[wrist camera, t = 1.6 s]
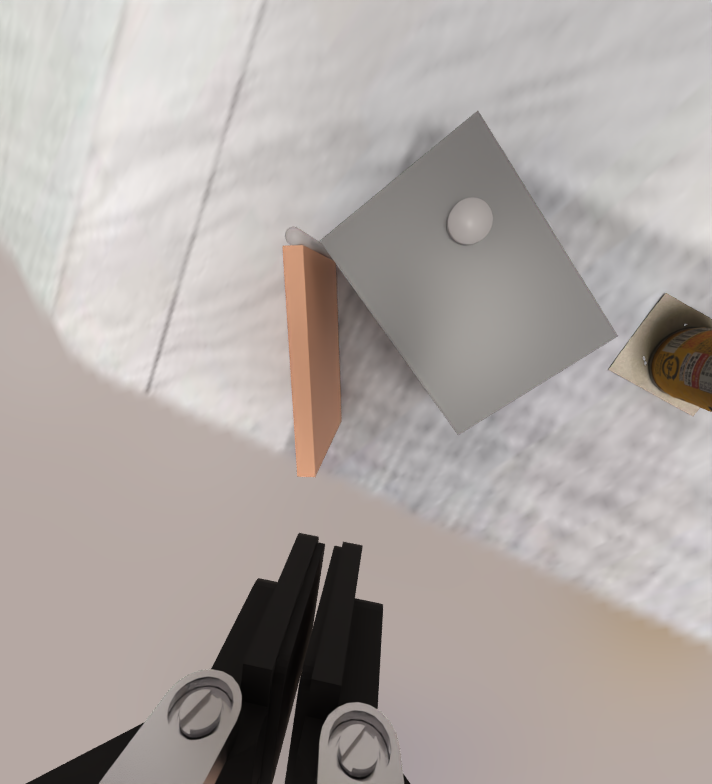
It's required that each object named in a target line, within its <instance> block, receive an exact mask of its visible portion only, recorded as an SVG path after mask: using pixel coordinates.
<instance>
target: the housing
mask: <svg viewBox="0 0 712 784" xmlns="http://www.w3.org/2000/svg"><path fill="white" fill-rule="evenodd" d="M320 242H321V243H322V245H323V246H324V248H325V249H326V250H327V252H328V253H329V255H330V256H331V257H332V259H333V260H334V262H335V263H336V265H337V266H338V267H339V269H340V270H341V272H342V273H343V274H344V276H345V277H346V279H347V280H348V281H349V283H350V284H351V286H352V287H353V288H354V290H355V291H356V293H357V294H358V295H359V297H360V298H361V300H362V301H363V302H364V304H365V305H366V307H367V308H368V309H369V311H370V312H371V314H372V315H373V316H374V318H375V319H376V321H377V322H378V323H379V325H380V326H381V328H382V329H383V330H384V332H385V333H386V335H387V336H388V338H389V339H390V340H391V342H392V343H393V345H394V346H395V347H396V349H397V350H398V352H399V353H400V354H401V356H402V357H403V359H404V360H405V361H406V363H407V364H408V366H409V367H410V368H411V370H412V371H413V373H414V374H415V375H416V377H417V378H418V380H419V381H420V382H421V384H422V385H423V387H424V388H425V389H426V391H427V392H428V394H429V395H430V396H431V398H432V399H433V401H434V402H435V403H436V405H437V406H438V408H439V409H440V411H441V412H442V413H443V415H444V416H445V418H446V419H447V420H448V422H449V423H450V425H451V426H452V427H453V429H454V430H455V432H456V433H457V434H458V435H459V434H461V433H463V432H464V431H466V430H467V429H469V428H471V427H472V426H474V425H475V424H477V423H479V422H480V421H482V420H484V419H485V418H487V417H488V416H490V415H492V414H493V413H495V412H496V411H498V410H500V409H501V408H503V407H504V406H506V405H508V404H509V403H511V402H513V401H514V400H516V399H517V398H519V397H521V396H522V395H524V394H525V393H527V392H529V391H530V390H532V389H534V388H535V387H537V386H538V385H540V384H542V383H543V382H545V381H546V380H548V379H550V378H551V377H553V376H554V375H556V374H558V373H559V372H561V371H563V370H564V369H566V368H567V367H569V366H571V365H572V364H574V363H575V362H577V361H579V360H580V359H582V358H584V357H585V356H587V355H588V354H590V353H592V352H593V351H595V350H596V349H598V348H600V347H601V346H603V345H604V344H606V343H608V342H609V341H611V340H613V339H614V338H616V337H617V336H618V335H617V334H616V332H615V331H614V329H613V327H612V326H611V324H610V323H609V321H608V319H607V318H606V316H605V314H604V313H603V311H602V310H601V308H600V306H599V305H598V303H597V302H596V300H595V298H594V297H593V295H592V294H591V292H590V290H589V289H588V287H587V285H586V284H585V282H584V281H583V279H582V277H581V276H580V274H579V273H578V271H577V269H576V268H575V266H574V265H573V263H572V261H571V260H570V258H569V256H568V255H567V253H566V252H565V250H564V248H563V247H562V245H561V244H560V242H559V240H558V239H557V237H556V236H555V234H554V232H553V231H552V229H551V227H550V226H549V224H548V223H547V221H546V219H545V218H544V216H543V215H542V213H541V211H540V210H539V208H538V207H537V205H536V203H535V202H534V200H533V198H532V197H531V195H530V194H529V192H528V190H527V189H526V187H525V186H524V184H523V182H522V181H521V179H520V178H519V176H518V174H517V173H516V171H515V169H514V168H513V166H512V165H511V163H510V161H509V160H508V158H507V157H506V155H505V153H504V152H503V150H502V149H501V147H500V145H499V144H498V142H497V141H496V139H495V137H494V136H493V134H492V132H491V131H490V129H489V128H488V126H487V124H486V123H485V121H484V120H483V118H482V116H481V115H480V113H479V112H478V111H477V112H476V113H474V114H473V115H472V116H471V117H469V118H468V119H467V120H466V121H465V122H463V123H462V124H461V125H460V126H459V127H457V128H456V129H455V130H454V131H452V132H451V133H450V134H449V135H448V136H446V137H445V138H444V139H443V140H442V141H440V142H439V143H438V144H437V145H436V146H434V147H433V148H432V149H431V150H429V151H428V152H427V153H426V154H425V155H423V156H422V157H421V158H420V159H419V160H417V161H416V162H415V163H414V164H412V165H411V166H410V167H409V168H408V169H406V170H405V171H404V172H403V173H402V174H400V175H399V176H398V177H397V178H395V179H394V180H393V181H392V182H391V183H389V184H388V185H387V186H386V187H385V188H383V189H382V190H381V191H380V192H378V193H377V194H376V195H375V196H374V197H372V198H371V199H370V200H369V201H368V202H366V203H365V204H364V205H363V206H362V207H360V208H359V209H358V210H357V211H355V212H354V213H353V214H352V215H351V216H349V217H348V218H347V219H346V220H345V221H343V222H342V223H341V224H340V225H338V226H337V227H336V228H335V229H334V230H332V231H331V232H330V233H329V234H328V235H326V236H325V237H324V238H323V239H321V240H320Z"/></svg>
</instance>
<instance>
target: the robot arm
mask: <svg viewBox="0 0 712 784" xmlns="http://www.w3.org/2000/svg"><path fill="white" fill-rule="evenodd" d="M318 540H319V538H318V537H317V536H312V535H307V534H302V533H299V534H298V536H297V538H296V540H295V543H294V545H293V547H292V550H291V552H290V555H289V557H288V559H287V562H286V564H285V566H284V569H283V571H282V574H281V576H280V578H279V580H278V582H274V581H270V580H264V579H259V578H258V579H257V580H256V582H255V584H254V586H253V587H252V589H251V591H250V593H249V595H248V598H247V599H246V601H245V603H244V605H243V607H242V609H241V611H240V613H239V615H238V617H237V619H236V621H235V623H234V625H233V627H232V629H231V631H230V633H229V635H228V637H227V639H226V641H225V643H224V645H223V647H222V649H221V651H220V653H219V655H218V657H217V659H216V661H215V663H214V665H213V667H212V668H211V669H210V670H200V671H197V672H194V673H192V674H189V675H187V676H185V677H184V678H182V679H181V680H179V681H178V682H177V683H176V684H175V685H174V686H173V687H172V688H171V689H170V690H169V691H168V692H167V693H166V695H165V696H164V697H163V699H162V700H161V701H160V703H159V704H158V705H157V707H156V708H155V709H154V711H153V712H152V713H151V715H150V716H149V717H148V719H147V720H146V721H145V722H144V723H142V724H141V725H138V726H136V727H134V728H133V729H131V730H129V731H127V732H125V733H123V734H121V735H119V736H117V737H115V738H113V739H111V740H109V741H107V742H106V743H104V744H102V745H100V746H98V747H96V748H94V749H92V750H90V751H88V752H86V753H84V754H82V755H81V756H78V757H77V758H75V759H73V760H71V761H69V762H67V763H65V764H63V765H61V766H59V767H57V768H56V769H53V770H51V771H49V772H48V773H46V774H44V775H42V776H40V777H38V778H36V779H34V780H32V781H30V782H28V783H26V784H272V782H273V779H274V775H275V771H276V767H277V763H278V759H279V756H280V752H281V748H282V744H283V740H284V737H285V733H286V729H287V725H288V722H289V717H290V714H291V710H292V706H293V702H294V699H295V695H296V691H297V687H298V683H299V680H300V683H299V688H298V696H297V702H296V709H295V717H294V723H293V730H292V737H291V744H290V750H289V757H288V764H287V772H286V778H285V784H410V783H409V781H408V780H407V778H406V777H405V776H404V774H403V770H402V762H401V754H400V746H399V742H398V738H397V734H396V732H395V730H394V728H393V726H392V724H391V723H390V721H389V720H388V719H387V718H386V717H385V716H384V715H383V713H382V712H381V711H379V710H377V708H378V691H379V673H380V655H381V635H382V617H383V604H379V603H375V602H370V601H365V600H360V599H355V593H356V586H357V579H358V572H359V565H360V559H361V553H362V545H357V544H352V543H347V542H343V545H342V547H338V546H334V549H333V553H332V557H331V561H330V565H329V568H328V572H327V576H326V580H325V584H324V588H323V591H322V595H321V599H320V603H319V606H318V610H317V614H316V618H315V622H314V616H315V609H316V602H317V596H318V589H319V582H320V576H321V569H322V562H323V555H324V549H325V544H323V543H318ZM313 623H314V625H313ZM312 628H313V629H312ZM301 672H302V673H301ZM300 676H301V677H300Z"/></svg>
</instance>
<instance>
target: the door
mask: <svg viewBox="0 0 712 784" xmlns="http://www.w3.org/2000/svg"><path fill="white" fill-rule="evenodd" d="M285 238H286V241H287V242H288V243H289V244H290V246H283V262H284V277H285V293H286V308H287V323H288V339H289V354H290V370H291V385H292V401H293V416H294V432H295V447H296V463H297V476H298V477H316V474H317V472H318V470H319V468H320V466H321V464H322V462H323V459H324V457H325V455H326V453H327V451H328V449H329V447H330V444H331V442H332V440H333V438H334V436H335V434H336V432H337V430H338V427H339V425H340V423H341V393H340V365H339V337H338V308H337V280H336V263H335V262H334V260H333V259H332V257H331V256H330V255H329V253H328V252H327V250H326V249H325V248H324V246H323V245H322V243H320V242H319V241H317V240H316V239H314V238H313V237H311V236H309V235H308V234H306V233H305V232H303V231H302V230H300V229H299V228H297V227H290V228H289V229H288V230H287V231H286V234H285Z"/></svg>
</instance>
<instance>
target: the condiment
mask: <svg viewBox="0 0 712 784" xmlns="http://www.w3.org/2000/svg"><path fill="white" fill-rule="evenodd" d="M684 324H688V325H686V326H684ZM643 356H645V361H646V362H647V364H646V366H645V365H644V361H643V358H642V357H643ZM609 370H610V371H612V372H614V373H616V374H617V375H619V376H621V377H623V378H625V379H626V380H628V381H630V382H632V383H634V384H635V385H637V386H639V387H641V388H643V389H644V390H646V391H648V392H650V393H652V394H653V395H655V396H657V397H659V398H661V399H662V400H664V401H666V402H668V403H670V404H671V405H673V406H675V407H677V408H679V409H680V410H682V411H684V412H686V413H688V414H690V415H691V416H694V415H695V413H696V412H697V411H698V410H699V408H703V409H706V410H708V411H710V412H712V319H711V318H709V317H707V316H706V315H704V314H702V313H700V312H698V311H697V310H695V309H693V308H691V307H689V306H688V305H686V304H684V303H682V302H681V301H679V300H678V299H676V298H674V297H672V296H670V295H669V294H667V293H665V295H664V296H663V297H662V298H661V300H660V301H659V302H658V303H657V304H656V306H655V307H654V308H653V310H652V311H651V312H650V314H649V315H648V316H647V318H646V319H645V320H644V321H643V323H642V324H641V325H640V327H639V328H638V329H637V331H636V332H635V334H634V335H633V336H632V337H631V339H629V342H628V343H627V345H626V346H625V347H624V349H623V350H622V351H621V353H620V354H619V355H618V357H617V358H616V360H615V361H614V363H613V364H612V365H611V367H610V368H609Z"/></svg>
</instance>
